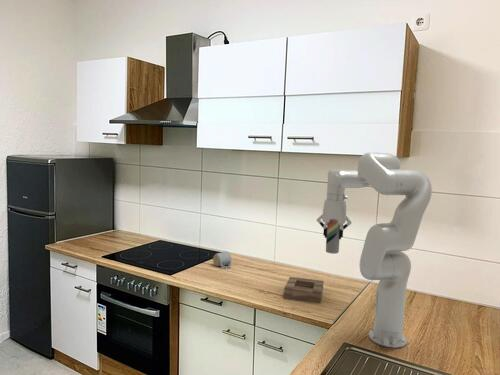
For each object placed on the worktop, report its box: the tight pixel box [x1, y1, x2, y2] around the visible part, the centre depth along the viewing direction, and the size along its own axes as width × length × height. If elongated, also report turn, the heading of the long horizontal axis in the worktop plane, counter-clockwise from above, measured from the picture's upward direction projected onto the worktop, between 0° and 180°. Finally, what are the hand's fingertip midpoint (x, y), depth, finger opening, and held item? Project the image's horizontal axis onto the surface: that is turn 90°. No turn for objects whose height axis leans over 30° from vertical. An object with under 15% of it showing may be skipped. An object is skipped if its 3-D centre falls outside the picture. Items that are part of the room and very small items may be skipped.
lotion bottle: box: [325, 219, 340, 254], centre depth 169 cm, size 6×6×20 cm
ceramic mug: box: [212, 250, 232, 269], centre depth 213 cm, size 11×8×8 cm
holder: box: [283, 276, 325, 304], centre depth 174 cm, size 16×16×5 cm
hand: (332, 237), depth 169 cm, fingers closed on lotion bottle, 5 cm apart
